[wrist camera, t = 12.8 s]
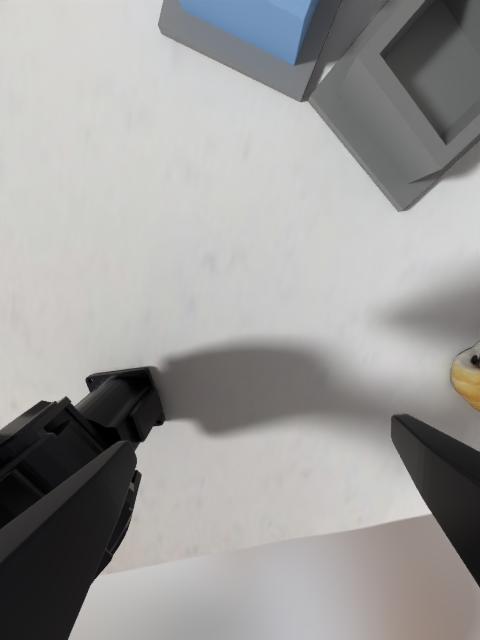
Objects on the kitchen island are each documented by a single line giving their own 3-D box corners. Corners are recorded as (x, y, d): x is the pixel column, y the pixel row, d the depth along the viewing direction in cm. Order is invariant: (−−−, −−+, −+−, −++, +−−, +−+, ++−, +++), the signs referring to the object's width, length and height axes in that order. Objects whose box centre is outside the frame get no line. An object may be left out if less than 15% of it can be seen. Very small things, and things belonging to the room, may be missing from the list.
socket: (398, 211, 17) (435, 201, 14) (308, 101, 15) (323, 58, 12) (533, 85, 14) (621, 34, 11) (442, -62, 13) (511, -176, 9)
